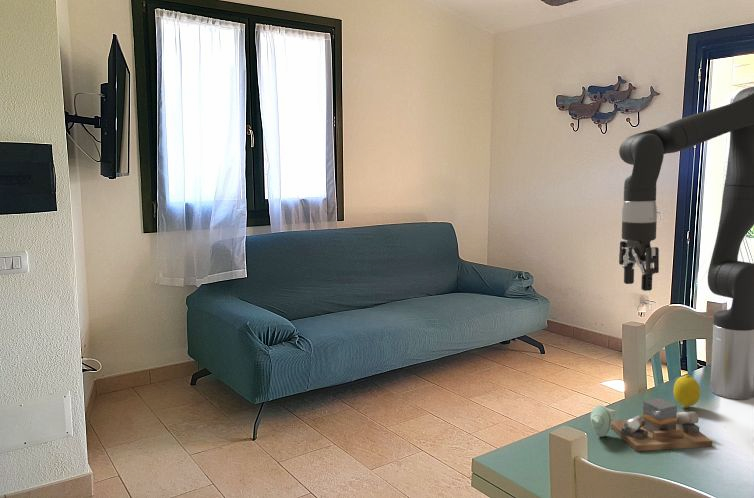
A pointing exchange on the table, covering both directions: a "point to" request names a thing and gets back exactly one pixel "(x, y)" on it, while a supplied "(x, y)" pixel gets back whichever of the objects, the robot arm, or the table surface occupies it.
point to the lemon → (686, 391)
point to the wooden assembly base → (668, 435)
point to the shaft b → (635, 428)
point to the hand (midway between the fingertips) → (637, 286)
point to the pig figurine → (601, 419)
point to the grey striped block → (659, 415)
